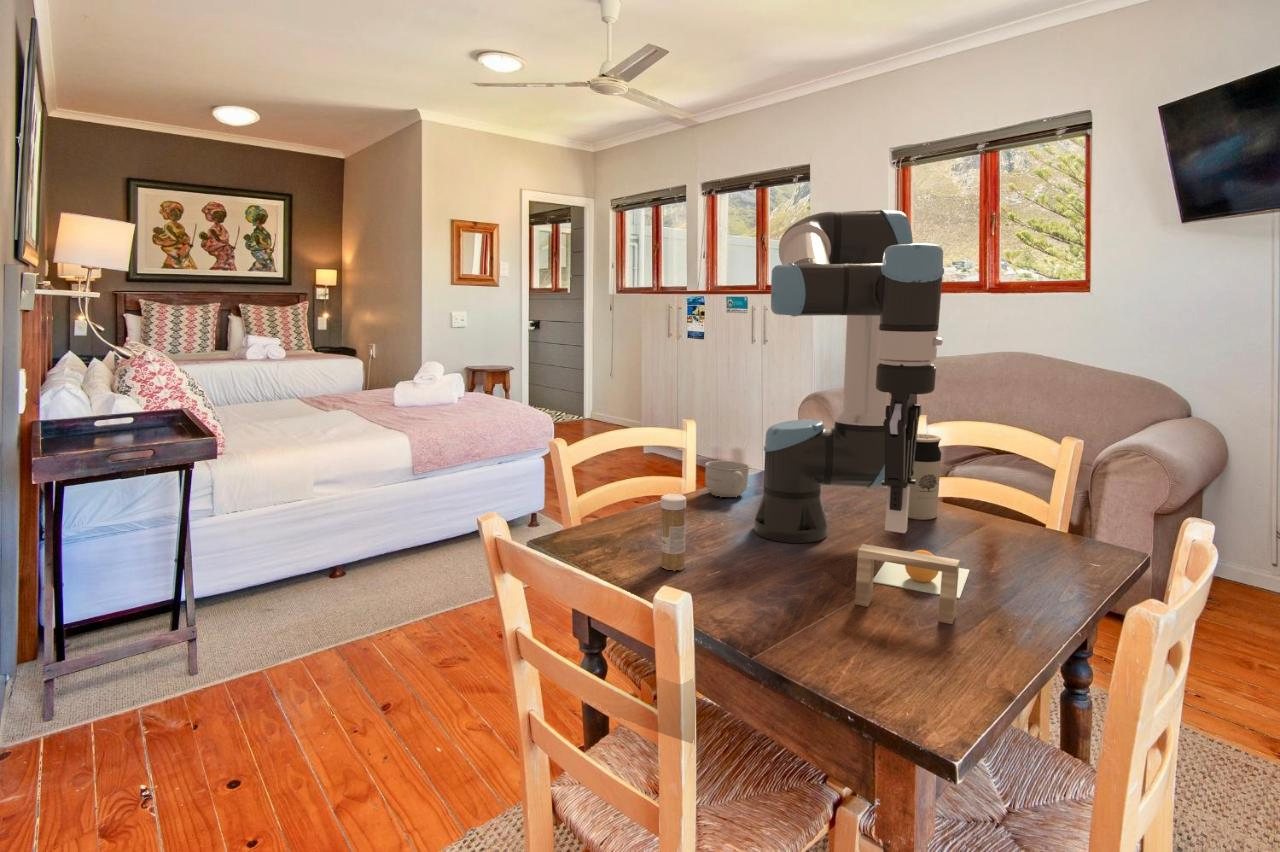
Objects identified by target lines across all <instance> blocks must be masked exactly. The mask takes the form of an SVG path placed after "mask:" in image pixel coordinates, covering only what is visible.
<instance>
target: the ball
mask: <svg viewBox="0 0 1280 852" xmlns="http://www.w3.org/2000/svg"><path fill="white" fill-rule="evenodd" d="M913 552H914V553H920V554H926V555H932V556H935V555H934V553H932V552H930V551H928V550H925V549H917V550H913ZM905 568H906V572H907V573H908V575H909V576H910V577H911V578H912V579H913V580H915V581H918V582H929V581H931V580H933V579H934V578H935V577H936V576H937V574H938V572H939V571H936V570H930V569H924V568H919V567H913V566H907V565H905Z"/></svg>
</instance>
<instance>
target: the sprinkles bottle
mask: <svg viewBox="0 0 1280 852" xmlns="http://www.w3.org/2000/svg"><path fill="white" fill-rule="evenodd" d="M660 508H661V526H660V527H661V529H660V531H661V535H660V536H661V537H660V538H661V540H660V541H661V542H660V551H661V561H660V567H662V568H664V569H666V570H665V571H667V570H673V571H672V572H677V571H676V570H679V571H682V570H684V569H685V568H686V563H685V556H686V555H685V552H686V508H687V497H686V496H684V495H682V494H679V493H667V494H664V495H661V497H660ZM662 568H661V569H662ZM664 569H663V570H664Z"/></svg>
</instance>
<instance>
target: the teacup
mask: <svg viewBox="0 0 1280 852" xmlns="http://www.w3.org/2000/svg"><path fill="white" fill-rule="evenodd" d="M704 466H705V473H704V476H705V477H704V482H705V484H704V485H705V487H706V489H707V490H708V491H709V492H710V493H711V495H713V496H714V495H715V496H714V497H717V496H720V497H719V498H722V497H736V496H738V497H740V496H741V495H742V494H744V493H745V492H746V491H747V488H748V484H749V482H748V481H749V475H750V474H749V473H750V472H749V471H750V465H749V464H747V463H743V462H740V461H739V462H738V461H732V460H731V461H730V460H710V461H707V462H705V463H704ZM708 488H711V489H708ZM739 495H740V496H739ZM736 498H737V497H736Z"/></svg>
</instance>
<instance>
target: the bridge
mask: <svg viewBox="0 0 1280 852" xmlns="http://www.w3.org/2000/svg"><path fill="white" fill-rule="evenodd" d="M875 561H880V562H884V563H885V562H890V563H896V564H901V565H907V566H913V567H919V568H924V569H930V570H936V571H941V572H942V577H941V590H940V595H939V604H938V606H939V607H938V619H937V622H939V623H944V624H949V625H953V623H954V621H955V619H956V609H957V599H958V598H957V586H958V573H959V568H960V559H955V558H950V557H943V556H938V555H937V556H936V555H934V556H932V555H926V554H920V553H914V551H906V550H902V549H901V550H900V549H896V548H890V547H889V548H888V547H882V546H879V545H878V546H877V545H872V544H864V543H862V544H861V545H860V547H859V548H858V549H857V562H856V580H855V582H856V583H855V596H854V597H855V598H854V605H857V606H862V607H867V608H868V607H869V606H870V604H871V602H872V601H873V594H874V593H873V590H874V582H873V579H874V577H875V576H874V574H875Z"/></svg>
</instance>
